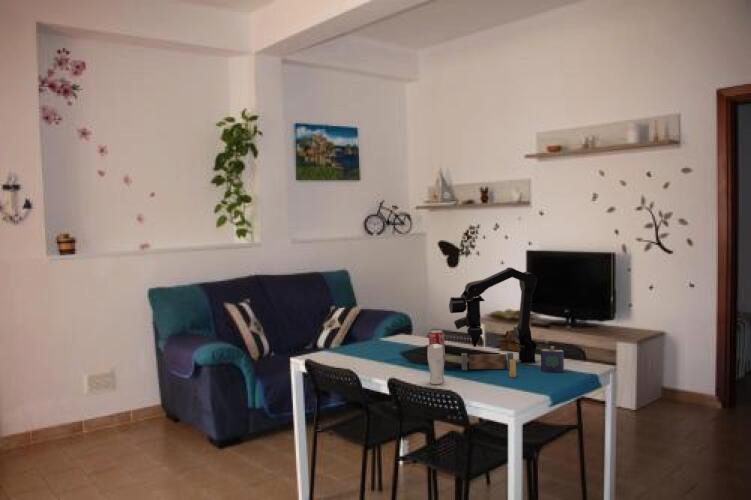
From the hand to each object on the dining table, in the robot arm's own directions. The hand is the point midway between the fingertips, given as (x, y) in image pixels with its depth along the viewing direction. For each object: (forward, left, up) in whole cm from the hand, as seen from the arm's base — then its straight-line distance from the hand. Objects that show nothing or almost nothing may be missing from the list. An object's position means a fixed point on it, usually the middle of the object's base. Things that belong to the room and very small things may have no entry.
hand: (474, 346), depth 274 cm
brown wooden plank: (-5, +7, -8) cm, 12 cm away
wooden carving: (-20, -24, -9) cm, 32 cm away
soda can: (+17, -15, -9) cm, 24 cm away
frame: (-5, +12, -8) cm, 15 cm away
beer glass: (+17, +25, -9) cm, 31 cm away
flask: (-31, +11, -9) cm, 34 cm away
